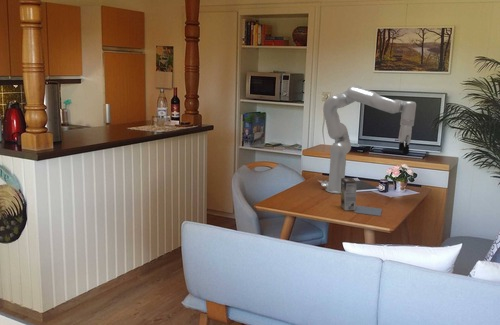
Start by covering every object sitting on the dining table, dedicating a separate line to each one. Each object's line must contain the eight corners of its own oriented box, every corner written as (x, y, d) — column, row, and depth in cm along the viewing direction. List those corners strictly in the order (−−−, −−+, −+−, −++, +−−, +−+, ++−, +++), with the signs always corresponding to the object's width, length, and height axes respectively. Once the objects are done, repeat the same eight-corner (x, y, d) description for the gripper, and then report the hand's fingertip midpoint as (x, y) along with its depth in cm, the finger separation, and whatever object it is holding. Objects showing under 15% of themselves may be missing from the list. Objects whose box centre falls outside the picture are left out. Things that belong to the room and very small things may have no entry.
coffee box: (340, 205, 292) (340, 178, 288) (351, 205, 292) (352, 177, 289) (344, 210, 283) (345, 182, 279) (356, 210, 283) (356, 181, 280)
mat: (353, 212, 280) (354, 212, 280) (356, 206, 293) (356, 205, 293) (380, 216, 276) (380, 215, 276) (382, 209, 289) (382, 208, 289)
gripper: (397, 120, 306) (393, 148, 310) (404, 124, 289) (400, 154, 293) (409, 121, 306) (406, 149, 310) (417, 125, 289) (413, 155, 293)
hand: (403, 152), depth 301 cm, fingers open, 9 cm apart
